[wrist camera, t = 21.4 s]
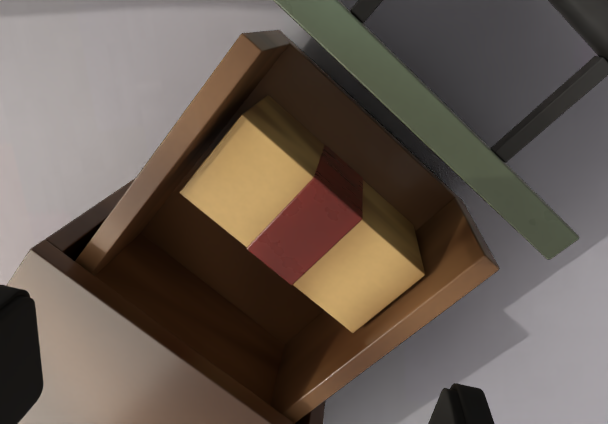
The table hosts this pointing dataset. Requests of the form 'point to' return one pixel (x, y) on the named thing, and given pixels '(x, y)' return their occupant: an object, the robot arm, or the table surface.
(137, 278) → the drawer
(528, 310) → the table surface
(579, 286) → the table surface
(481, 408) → the robot arm
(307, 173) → the banded wooden block
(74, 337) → the cabinet
